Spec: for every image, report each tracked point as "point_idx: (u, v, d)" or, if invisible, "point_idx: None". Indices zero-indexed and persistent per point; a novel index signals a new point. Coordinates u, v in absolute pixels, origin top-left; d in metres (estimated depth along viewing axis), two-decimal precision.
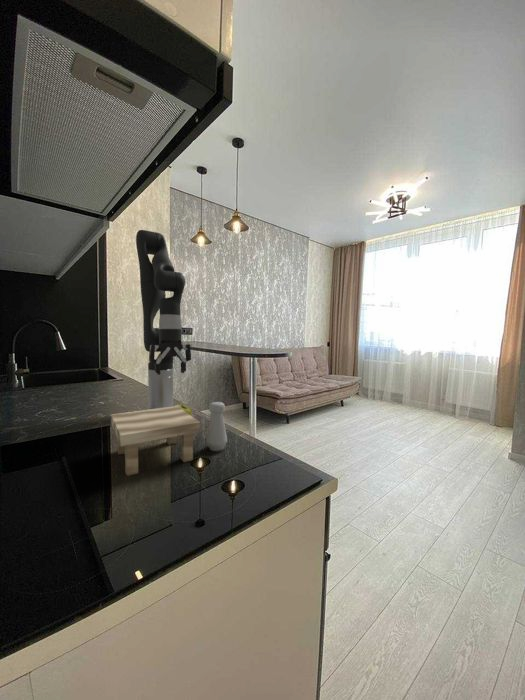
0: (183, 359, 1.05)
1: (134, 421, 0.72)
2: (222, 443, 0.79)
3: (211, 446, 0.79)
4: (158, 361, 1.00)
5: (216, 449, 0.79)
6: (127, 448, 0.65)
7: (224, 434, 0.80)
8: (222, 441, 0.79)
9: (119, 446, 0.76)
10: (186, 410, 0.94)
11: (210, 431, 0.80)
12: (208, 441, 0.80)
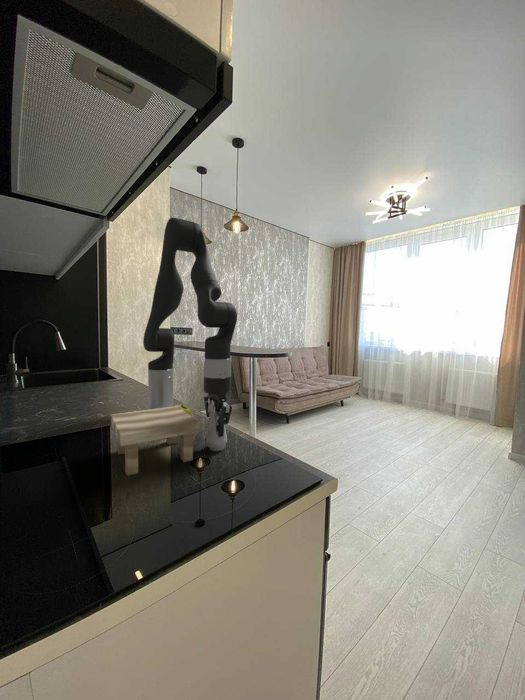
0: None
1: (134, 421, 0.72)
2: (222, 443, 0.79)
3: (211, 446, 0.79)
4: None
5: (216, 449, 0.79)
6: (127, 448, 0.65)
7: (224, 434, 0.80)
8: (222, 441, 0.79)
9: (119, 446, 0.76)
10: (186, 410, 0.94)
11: (210, 431, 0.80)
12: (208, 441, 0.80)
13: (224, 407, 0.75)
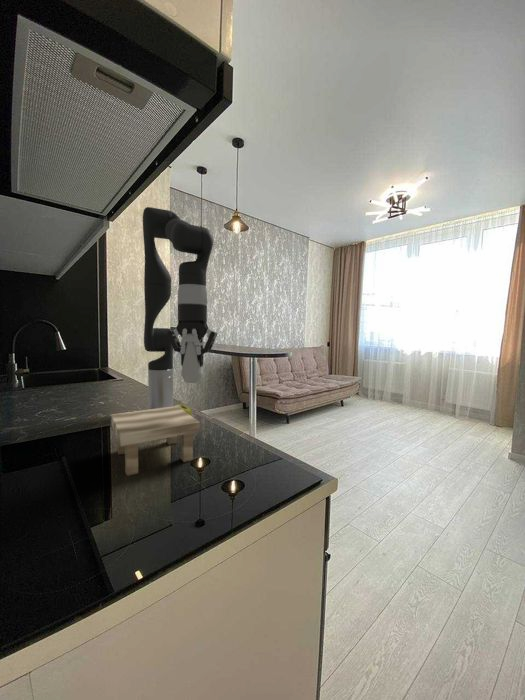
0: None
1: (134, 421, 0.72)
2: (202, 373, 0.78)
3: (193, 377, 0.76)
4: None
5: (197, 380, 0.77)
6: (127, 448, 0.65)
7: None
8: (202, 371, 0.78)
9: (119, 446, 0.76)
10: (186, 410, 0.94)
11: (191, 362, 0.76)
12: (190, 373, 0.76)
13: (214, 332, 0.76)
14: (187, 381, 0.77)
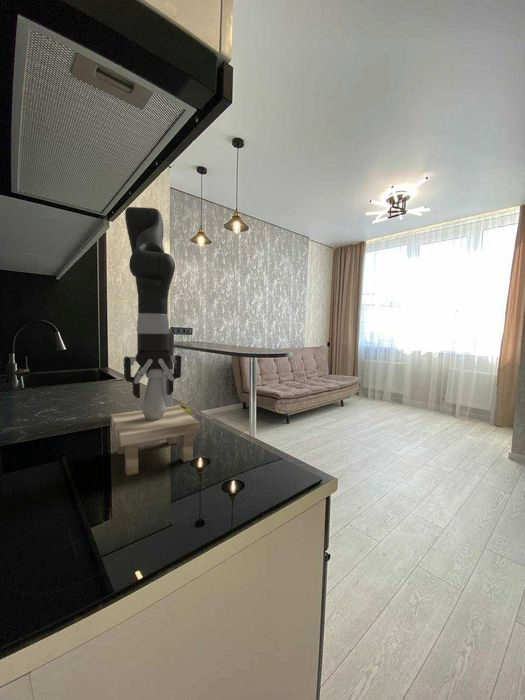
0: None
1: (134, 421, 0.72)
2: None
3: (161, 413, 0.74)
4: None
5: (162, 415, 0.76)
6: (127, 448, 0.65)
7: None
8: None
9: (119, 446, 0.76)
10: (186, 410, 0.94)
11: (158, 398, 0.74)
12: (158, 409, 0.73)
13: (179, 356, 0.77)
14: (153, 418, 0.74)
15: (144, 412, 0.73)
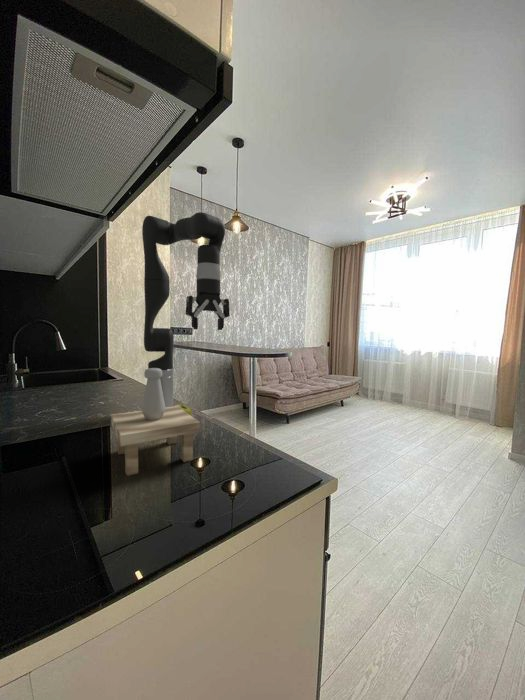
0: None
1: (134, 421, 0.72)
2: None
3: (161, 413, 0.74)
4: None
5: (162, 415, 0.76)
6: (127, 448, 0.65)
7: None
8: None
9: (119, 446, 0.76)
10: (186, 410, 0.94)
11: (158, 398, 0.74)
12: (158, 410, 0.73)
13: (227, 299, 0.97)
14: (153, 419, 0.74)
15: (144, 413, 0.73)
